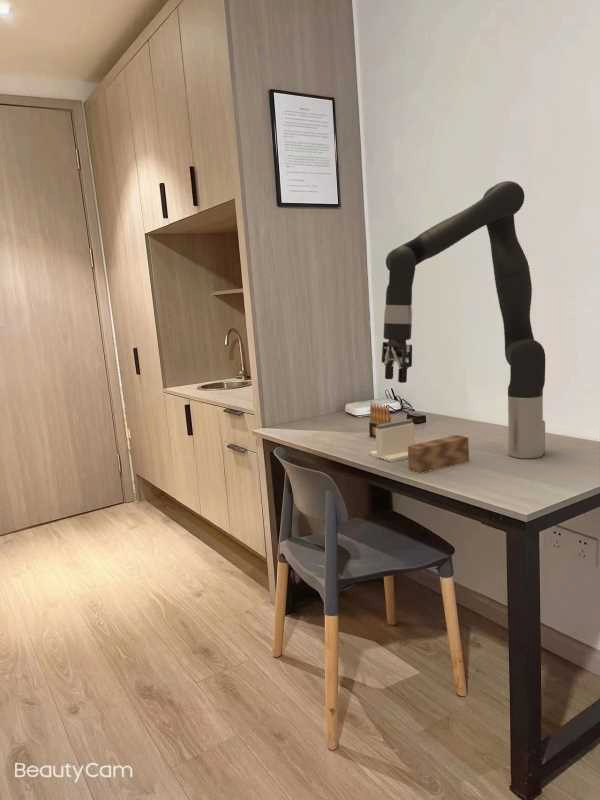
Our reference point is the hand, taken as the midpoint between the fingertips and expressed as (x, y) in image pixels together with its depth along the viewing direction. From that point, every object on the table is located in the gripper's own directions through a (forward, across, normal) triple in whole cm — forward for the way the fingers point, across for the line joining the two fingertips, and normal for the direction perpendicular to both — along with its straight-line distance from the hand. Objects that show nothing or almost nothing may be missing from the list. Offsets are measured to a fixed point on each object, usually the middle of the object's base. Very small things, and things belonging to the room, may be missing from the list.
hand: (395, 380), depth 171 cm
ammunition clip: (+24, +31, -10) cm, 40 cm away
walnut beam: (+23, -7, -11) cm, 27 cm away
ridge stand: (+24, +9, -6) cm, 26 cm away
